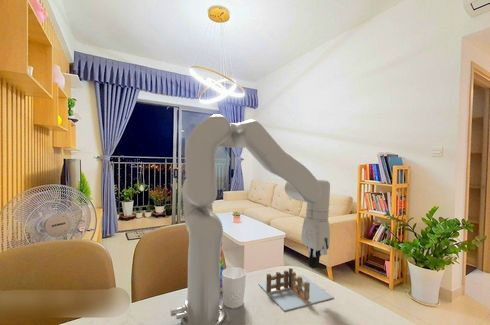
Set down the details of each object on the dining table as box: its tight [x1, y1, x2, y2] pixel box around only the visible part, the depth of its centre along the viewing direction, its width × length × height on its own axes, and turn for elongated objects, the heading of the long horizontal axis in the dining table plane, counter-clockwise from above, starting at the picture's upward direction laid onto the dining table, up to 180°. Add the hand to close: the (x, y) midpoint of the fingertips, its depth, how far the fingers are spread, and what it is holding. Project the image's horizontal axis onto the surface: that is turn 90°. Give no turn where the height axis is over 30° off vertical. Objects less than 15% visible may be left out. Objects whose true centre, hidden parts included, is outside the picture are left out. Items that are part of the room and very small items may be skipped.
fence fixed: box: [266, 267, 294, 293], centre depth 89 cm, size 10×1×7 cm, turn 113°
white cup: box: [221, 266, 247, 309], centre depth 81 cm, size 8×8×10 cm
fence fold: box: [291, 271, 310, 300], centre depth 86 cm, size 9×1×6 cm, turn 23°
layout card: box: [258, 274, 335, 313], centre depth 89 cm, size 20×18×1 cm
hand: (313, 266), depth 87 cm, fingers closed
